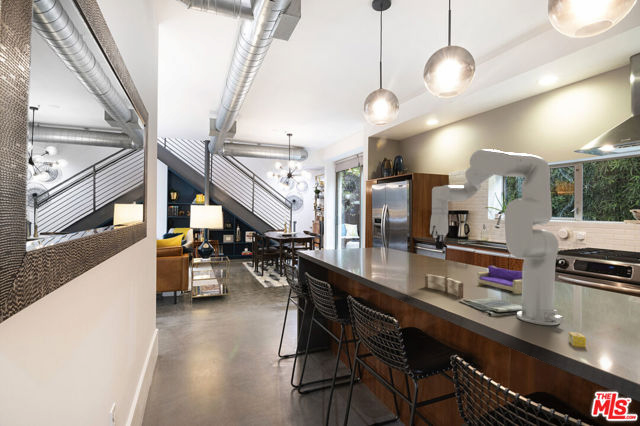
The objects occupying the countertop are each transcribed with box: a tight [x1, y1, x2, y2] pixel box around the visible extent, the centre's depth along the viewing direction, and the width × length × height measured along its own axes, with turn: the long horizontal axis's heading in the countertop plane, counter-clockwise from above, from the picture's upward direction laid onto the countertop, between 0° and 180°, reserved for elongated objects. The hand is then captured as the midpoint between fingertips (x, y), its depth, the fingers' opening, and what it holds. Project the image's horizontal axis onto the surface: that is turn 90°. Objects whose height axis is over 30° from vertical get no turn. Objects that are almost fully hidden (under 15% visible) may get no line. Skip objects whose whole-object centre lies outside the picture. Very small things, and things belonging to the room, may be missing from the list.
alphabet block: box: [567, 331, 587, 348], centre depth 93 cm, size 3×3×3 cm
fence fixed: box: [444, 276, 464, 299], centre depth 145 cm, size 12×2×7 cm, turn 12°
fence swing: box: [424, 273, 446, 292], centre depth 155 cm, size 10×2×6 cm, turn 42°
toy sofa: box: [476, 265, 522, 295], centre depth 158 cm, size 21×9×10 cm, turn 23°
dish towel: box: [457, 297, 522, 318], centre depth 128 cm, size 19×18×3 cm
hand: (439, 249), depth 159 cm, fingers closed
